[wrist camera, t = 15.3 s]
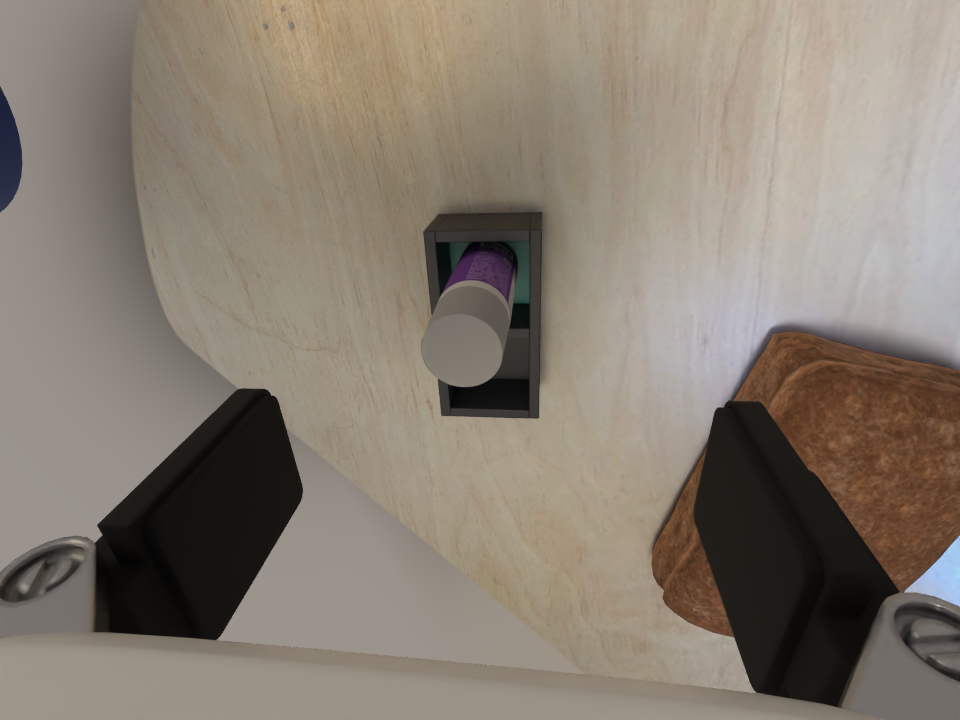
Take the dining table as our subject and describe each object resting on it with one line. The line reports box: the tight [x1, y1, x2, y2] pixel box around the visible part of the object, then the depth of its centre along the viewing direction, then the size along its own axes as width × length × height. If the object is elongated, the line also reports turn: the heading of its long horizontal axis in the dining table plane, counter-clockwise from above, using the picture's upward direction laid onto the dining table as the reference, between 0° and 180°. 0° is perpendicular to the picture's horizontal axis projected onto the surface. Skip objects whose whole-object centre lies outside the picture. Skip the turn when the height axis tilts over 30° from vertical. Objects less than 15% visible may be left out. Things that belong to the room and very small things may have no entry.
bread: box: [652, 331, 960, 637], centre depth 41 cm, size 17×29×11 cm, turn 169°
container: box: [421, 242, 518, 387], centre depth 33 cm, size 5×5×15 cm
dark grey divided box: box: [423, 212, 542, 419], centre depth 39 cm, size 8×15×6 cm, turn 3°
